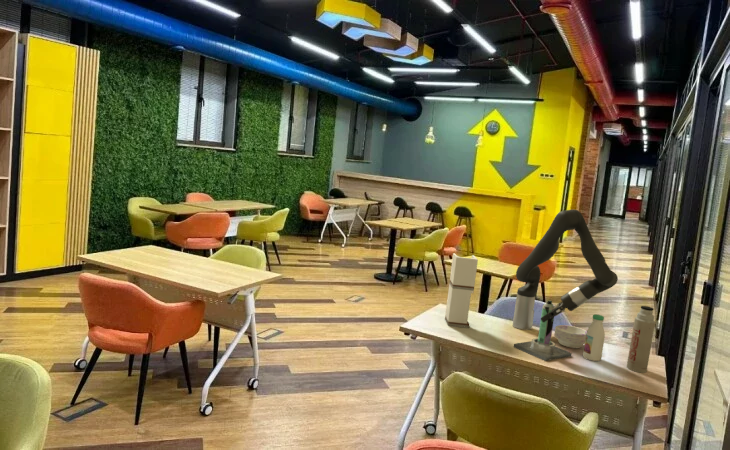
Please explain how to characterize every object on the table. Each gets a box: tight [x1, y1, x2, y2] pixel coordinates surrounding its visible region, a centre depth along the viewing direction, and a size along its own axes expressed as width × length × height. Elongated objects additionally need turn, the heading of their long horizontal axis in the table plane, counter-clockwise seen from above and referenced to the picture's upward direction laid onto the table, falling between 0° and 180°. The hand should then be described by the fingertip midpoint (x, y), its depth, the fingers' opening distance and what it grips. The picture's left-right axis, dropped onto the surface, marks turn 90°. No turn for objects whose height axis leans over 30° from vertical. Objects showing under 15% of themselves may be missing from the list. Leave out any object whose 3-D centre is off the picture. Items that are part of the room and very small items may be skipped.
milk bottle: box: [582, 313, 606, 362], centre depth 248 cm, size 8×8×20 cm
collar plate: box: [513, 337, 573, 362], centre depth 251 cm, size 18×18×4 cm
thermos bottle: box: [626, 305, 656, 374], centre depth 239 cm, size 8×8×28 cm
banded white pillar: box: [444, 252, 479, 329], centre depth 280 cm, size 11×11×35 cm
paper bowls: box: [554, 324, 587, 349], centre depth 265 cm, size 15×15×8 cm
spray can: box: [537, 300, 556, 345], centre depth 249 cm, size 6×6×20 cm
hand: (543, 318), depth 250 cm, fingers closed on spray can, 5 cm apart
